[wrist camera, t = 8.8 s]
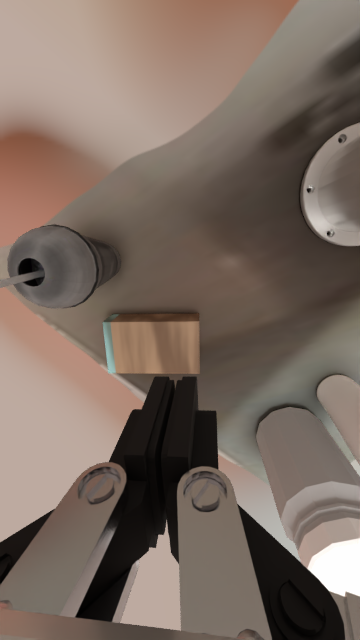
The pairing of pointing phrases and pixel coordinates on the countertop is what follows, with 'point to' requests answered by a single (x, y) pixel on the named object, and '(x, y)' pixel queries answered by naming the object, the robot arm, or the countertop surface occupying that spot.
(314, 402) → the countertop surface
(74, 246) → the beverage cup
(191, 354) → the wooden block
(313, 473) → the jar
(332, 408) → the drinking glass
